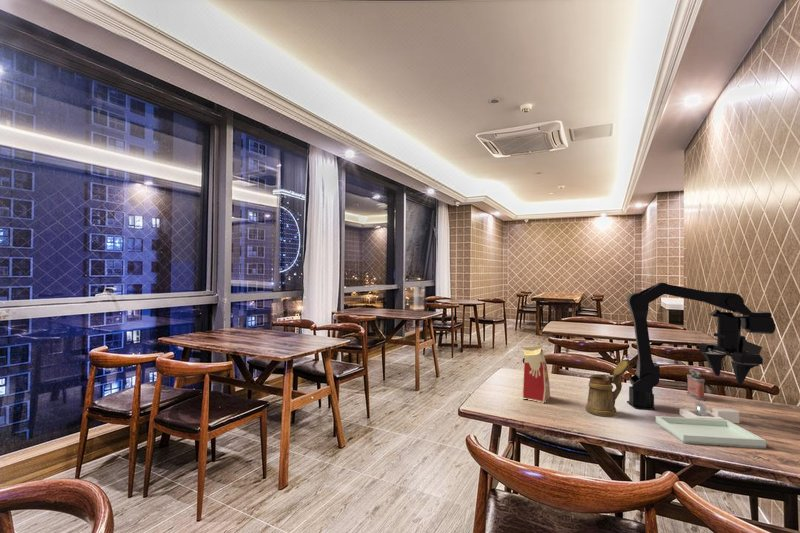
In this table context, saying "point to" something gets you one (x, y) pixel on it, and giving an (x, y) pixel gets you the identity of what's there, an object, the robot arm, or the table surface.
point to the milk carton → (535, 375)
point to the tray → (709, 432)
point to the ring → (713, 414)
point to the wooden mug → (605, 392)
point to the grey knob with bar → (700, 409)
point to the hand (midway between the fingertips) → (728, 379)
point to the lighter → (695, 385)
